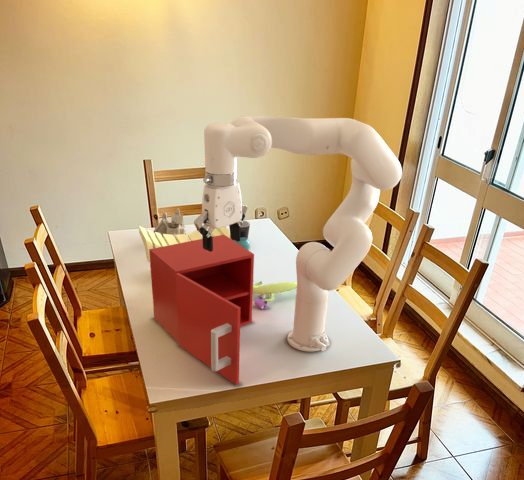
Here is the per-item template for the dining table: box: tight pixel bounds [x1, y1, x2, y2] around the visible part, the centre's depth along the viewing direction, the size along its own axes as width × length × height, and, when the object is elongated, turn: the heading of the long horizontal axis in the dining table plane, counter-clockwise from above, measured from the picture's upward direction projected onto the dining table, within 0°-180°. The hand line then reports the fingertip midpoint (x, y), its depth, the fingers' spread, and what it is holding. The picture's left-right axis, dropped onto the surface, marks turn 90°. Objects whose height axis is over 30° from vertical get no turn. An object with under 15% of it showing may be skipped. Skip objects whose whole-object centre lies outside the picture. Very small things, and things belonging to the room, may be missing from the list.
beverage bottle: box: [233, 228, 251, 251], centre depth 199 cm, size 6×7×20 cm
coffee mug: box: [228, 219, 251, 240], centre depth 231 cm, size 12×9×10 cm
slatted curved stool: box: [138, 225, 231, 263], centre depth 202 cm, size 30×16×18 cm, turn 111°
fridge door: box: [176, 273, 241, 386], centre depth 150 cm, size 7×26×24 cm, turn 43°
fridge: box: [149, 235, 255, 344], centre depth 173 cm, size 18×26×24 cm
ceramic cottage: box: [153, 207, 187, 244], centre depth 226 cm, size 16×16×15 cm
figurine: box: [253, 280, 297, 310], centre depth 192 cm, size 18×27×6 cm
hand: (221, 244), depth 143 cm, fingers open, 9 cm apart
